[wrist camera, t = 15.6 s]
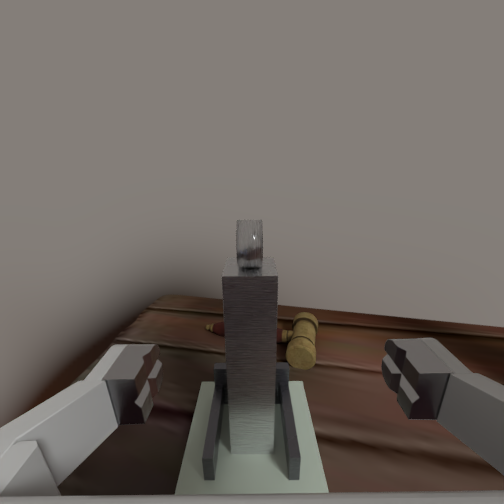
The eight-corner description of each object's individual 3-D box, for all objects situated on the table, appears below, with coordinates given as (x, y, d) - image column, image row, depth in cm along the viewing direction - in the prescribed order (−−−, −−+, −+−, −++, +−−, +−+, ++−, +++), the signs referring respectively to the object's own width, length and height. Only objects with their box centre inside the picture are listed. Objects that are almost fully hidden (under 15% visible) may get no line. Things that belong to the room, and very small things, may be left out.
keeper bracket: (332, 525, 21) (340, 471, 19) (171, 526, 21) (161, 472, 19) (301, 389, 34) (304, 348, 32) (202, 390, 34) (198, 349, 32)
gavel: (191, 332, 42) (215, 303, 52) (195, 354, 44) (218, 322, 53) (315, 348, 36) (318, 312, 45) (315, 373, 38) (318, 333, 47)
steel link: (273, 454, 25) (279, 225, 18) (231, 454, 25) (219, 226, 18) (270, 414, 29) (274, 215, 22) (234, 414, 29) (225, 215, 22)
